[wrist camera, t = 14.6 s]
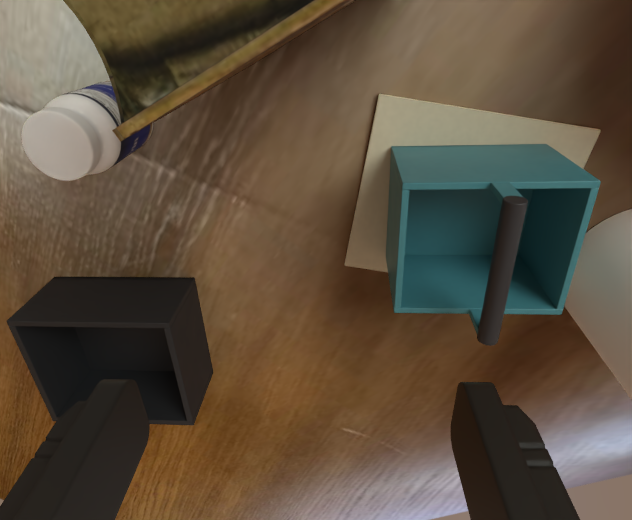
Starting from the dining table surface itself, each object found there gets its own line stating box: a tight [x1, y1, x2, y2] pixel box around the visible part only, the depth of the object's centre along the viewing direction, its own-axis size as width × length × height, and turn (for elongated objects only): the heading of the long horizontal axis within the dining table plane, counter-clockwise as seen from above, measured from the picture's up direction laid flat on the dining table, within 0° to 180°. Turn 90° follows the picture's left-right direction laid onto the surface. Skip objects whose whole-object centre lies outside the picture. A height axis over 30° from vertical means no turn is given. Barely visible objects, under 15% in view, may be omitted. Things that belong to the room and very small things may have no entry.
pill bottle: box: [21, 81, 153, 181], centre depth 33 cm, size 6×6×10 cm
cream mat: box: [344, 94, 601, 272], centre depth 40 cm, size 18×16×1 cm
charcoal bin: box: [7, 277, 213, 425], centre depth 46 cm, size 15×13×8 cm
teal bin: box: [386, 144, 601, 345], centre depth 34 cm, size 13×11×13 cm
